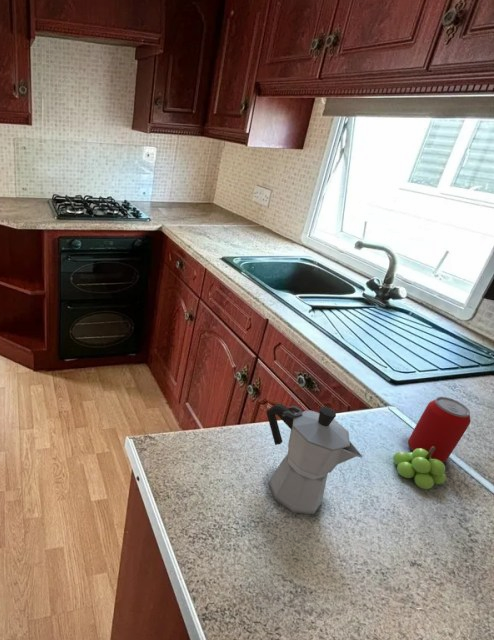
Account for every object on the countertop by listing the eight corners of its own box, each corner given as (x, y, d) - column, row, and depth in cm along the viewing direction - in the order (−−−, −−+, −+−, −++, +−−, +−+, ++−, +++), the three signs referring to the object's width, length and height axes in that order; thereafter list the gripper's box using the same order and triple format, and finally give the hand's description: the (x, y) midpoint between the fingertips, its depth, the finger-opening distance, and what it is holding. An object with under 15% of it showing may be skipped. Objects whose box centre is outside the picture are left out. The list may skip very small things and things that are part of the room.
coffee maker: (341, 503, 68) (382, 422, 60) (320, 534, 63) (362, 449, 55) (262, 450, 78) (288, 373, 70) (237, 473, 72) (263, 392, 64)
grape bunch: (429, 464, 78) (446, 436, 75) (450, 498, 72) (470, 468, 68) (385, 455, 80) (400, 427, 76) (402, 487, 73) (419, 458, 69)
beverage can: (441, 447, 83) (468, 401, 78) (449, 470, 78) (480, 423, 72) (403, 435, 85) (428, 390, 80) (409, 457, 80) (436, 409, 75)
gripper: (515, 191, 91) (465, 286, 102) (531, 197, 81) (474, 303, 92) (559, 197, 88) (503, 295, 99) (581, 205, 78) (516, 313, 88)
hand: (489, 298), depth 95 cm, fingers closed
